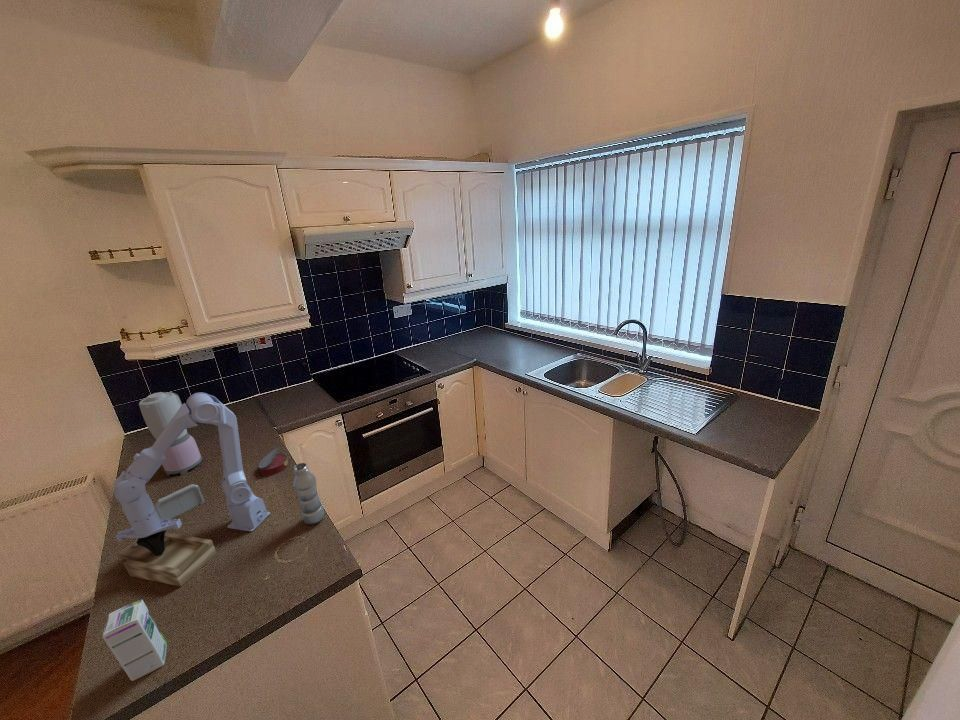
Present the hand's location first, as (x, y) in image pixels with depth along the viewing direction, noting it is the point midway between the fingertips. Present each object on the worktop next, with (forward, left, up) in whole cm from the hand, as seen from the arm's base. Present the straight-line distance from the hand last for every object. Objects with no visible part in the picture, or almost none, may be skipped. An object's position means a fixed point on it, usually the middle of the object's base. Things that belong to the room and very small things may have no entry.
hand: (160, 552), depth 108 cm
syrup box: (-23, +22, -4) cm, 32 cm away
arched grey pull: (+15, -18, -4) cm, 24 cm away
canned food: (+1, -44, -4) cm, 44 cm away
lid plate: (+6, -1, -1) cm, 6 cm away
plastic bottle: (-33, -22, -4) cm, 40 cm away
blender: (+39, -41, -4) cm, 57 cm away
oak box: (-3, 0, -4) cm, 5 cm away
